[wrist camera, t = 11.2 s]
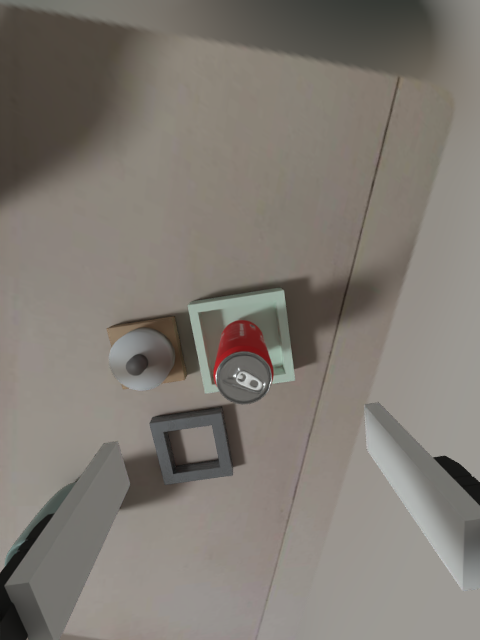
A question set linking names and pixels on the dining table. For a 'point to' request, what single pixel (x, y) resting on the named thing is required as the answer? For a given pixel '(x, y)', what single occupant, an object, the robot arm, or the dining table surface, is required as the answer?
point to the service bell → (146, 353)
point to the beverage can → (243, 363)
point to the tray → (253, 307)
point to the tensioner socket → (197, 469)
